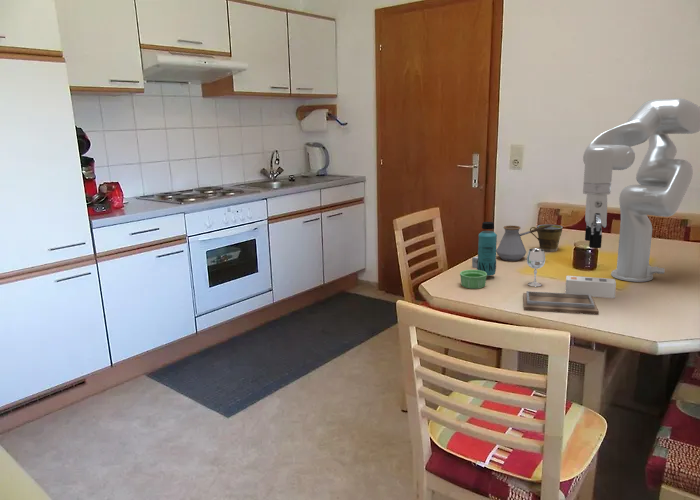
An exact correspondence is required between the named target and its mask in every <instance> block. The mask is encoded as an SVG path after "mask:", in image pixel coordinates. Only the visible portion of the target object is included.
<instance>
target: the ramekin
mask: <svg viewBox="0 0 700 500" xmlns="http://www.w3.org/2000/svg"><path fill="white" fill-rule="evenodd" d="M459 276H460V283H461V286H462V287H463V288H465V289H471V290H473V289H474V290H477V289H482V288H485V287H486V284H487V282H486V281H487V277H488V276H487V273H486V272H484V271H481V270H478V269H466V270H461V271H460V272H459Z"/></svg>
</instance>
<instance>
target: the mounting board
mask: <svg viewBox="0 0 700 500" xmlns="http://www.w3.org/2000/svg"><path fill="white" fill-rule="evenodd" d="M522 294H523V295H522V299H523V310H524V311H531V312H533V311H534V312H549V313H552V312H553V313H567V314H580V313H583V315H584V314H585V315H595V316H596V315H597V316H599V313H600V311H599V309H598V306H597V304H596V302H595V300H594V298H593V297H592V296H591V295H590V294H570V293H565V292H550V291H549V292H547V291H531V290H529V291H526V292H523V293H522Z"/></svg>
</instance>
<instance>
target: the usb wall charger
mask: <svg viewBox="0 0 700 500" xmlns="http://www.w3.org/2000/svg"><path fill="white" fill-rule="evenodd" d="M477 259H478V257H477V256H473V257H472V258H471V261H472V262H471V263H472V264H471V266H472V268H475V269H476V270H478V268H477V267H478V264H477Z"/></svg>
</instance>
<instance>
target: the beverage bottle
mask: <svg viewBox="0 0 700 500" xmlns="http://www.w3.org/2000/svg"><path fill="white" fill-rule="evenodd" d="M481 229H482V231H481V232H480V233H478V244H477V245H478V246H477V247H478V248H477V256H476V257H478V259H477V264H478V267H477V268H478V269H477V268H476V269H477V270H481V271H484V272H486V273H487V276H486V277H489V276H494V275H495V274H496V271H497V252H496V250H497V242H498V241H497V238H498V235H497V234H496V233H495V231H493V229H495V223H494V222H493V221H483V222H482V224H481Z"/></svg>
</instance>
